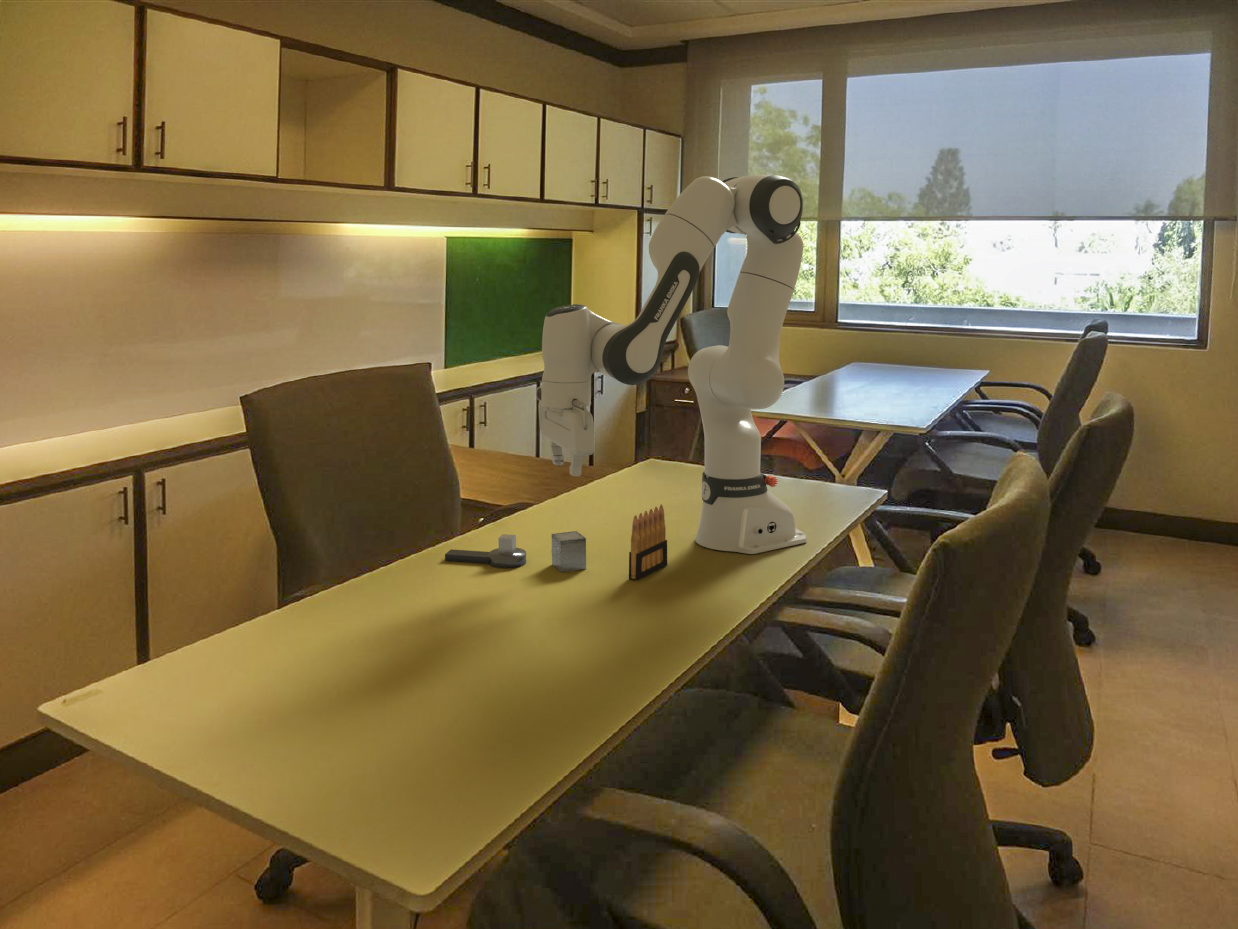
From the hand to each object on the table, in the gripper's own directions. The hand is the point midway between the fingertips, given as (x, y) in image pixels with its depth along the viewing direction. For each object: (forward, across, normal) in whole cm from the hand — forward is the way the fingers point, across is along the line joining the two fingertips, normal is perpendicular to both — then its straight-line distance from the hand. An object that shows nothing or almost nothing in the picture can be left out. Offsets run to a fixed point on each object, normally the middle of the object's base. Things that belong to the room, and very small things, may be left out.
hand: (566, 470), depth 197 cm
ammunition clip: (+19, -9, -13) cm, 24 cm away
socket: (+19, 0, 0) cm, 19 cm away
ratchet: (+19, +9, +13) cm, 25 cm away
